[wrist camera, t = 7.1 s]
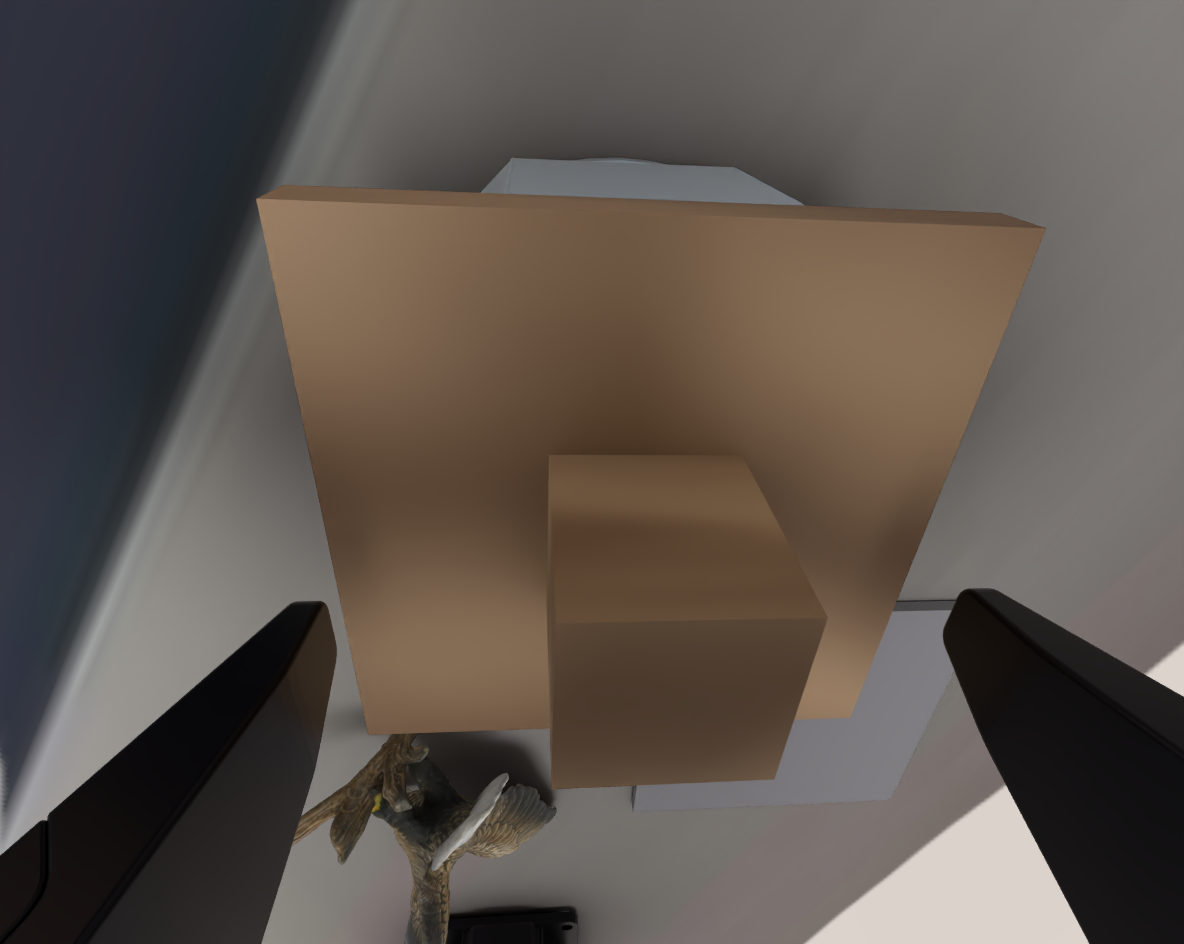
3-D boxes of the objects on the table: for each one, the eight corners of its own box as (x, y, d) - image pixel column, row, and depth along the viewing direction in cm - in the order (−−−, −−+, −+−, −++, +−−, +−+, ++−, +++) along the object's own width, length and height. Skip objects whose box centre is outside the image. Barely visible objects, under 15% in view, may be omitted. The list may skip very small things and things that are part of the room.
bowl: (770, 553, 19) (831, 680, 15) (409, 557, 18) (376, 694, 14) (865, 166, 13) (1000, 210, 9) (356, 144, 12) (278, 183, 9)
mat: (885, 789, 26) (889, 799, 25) (631, 801, 25) (633, 812, 24) (977, 600, 20) (984, 609, 20) (658, 606, 19) (661, 616, 19)
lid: (831, 680, 15) (935, 894, 11) (378, 693, 14) (320, 932, 10) (1000, 213, 9) (1311, 317, 6) (283, 184, 9) (86, 285, 5)
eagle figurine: (237, 779, 20) (373, 952, 24) (258, 952, 14) (437, 1152, 18) (448, 636, 24) (543, 806, 27) (538, 729, 18) (647, 934, 21)
